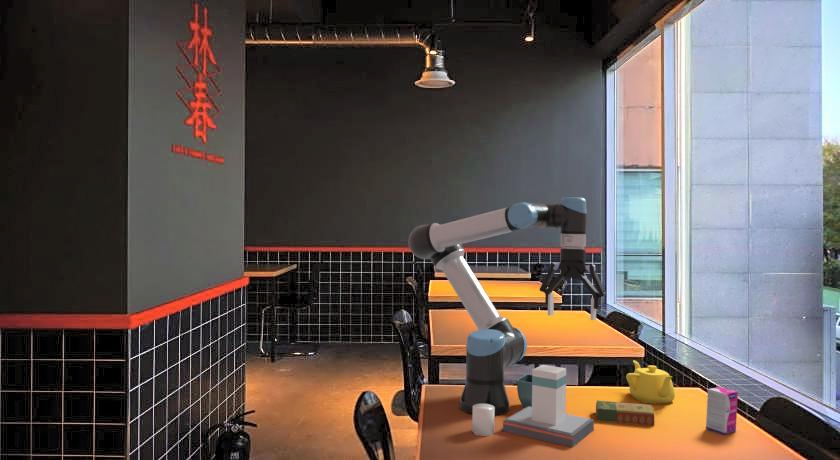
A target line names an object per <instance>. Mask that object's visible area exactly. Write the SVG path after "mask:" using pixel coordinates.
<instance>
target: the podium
mask: <svg viewBox="0 0 840 460" xmlns="http://www.w3.org/2000/svg"><path fill="white" fill-rule="evenodd" d="M594 423H595V420H594V419H593V418H589V417H584V416H579V415H574V414H569V413H565V419H564V420H562V421H561V422H560V423H558V424H557V425H552V424H548V423H543V422H538V421H534V420H532V407H530V406H527V407H526V408H524V407H523V408H522V409H520V410H519V411H517V412H515V413H513V414H512V415H510V416H508V417H507V418H504V419H503V420H502V432H506V433H510V434H513V435H518V436H522V437H527V438H531V439H536V440H540V441H544V442H548V443H553V444H556V445H562V446H565V447H569V448H574V447H575V446H576V445H577V444H579V443H580V442H581V441H582V440H584V439H585V438H586V437H588V435H590V434H592V433H593V431H594V429H595V424H594Z"/></svg>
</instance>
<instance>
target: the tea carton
mask: <svg viewBox="0 0 840 460" xmlns="http://www.w3.org/2000/svg"><path fill="white" fill-rule="evenodd" d="M531 375H532V420H534V421H538V422H543V423H548V424H552V425H557V424H558V423H560V422H561V421H562V420H564V419H565V414H566V410H567V409H566V404H567V403H566V401H567V399H566V398H567V368H566V367H559V366H554V365H547V364H541V365H540V366H538V367H535V368H533V369H532V374H531Z"/></svg>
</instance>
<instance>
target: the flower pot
mask: <svg viewBox="0 0 840 460" xmlns="http://www.w3.org/2000/svg"><path fill="white" fill-rule="evenodd" d="M515 381H516V389H517V390H516V391H517V396H518V400H519V401H520V404H521V405H522V407H523V409H524V408H526V407H527V406H530V407H532V374H530V373H529V374H528V373H526V374H524V375H523V376H521V377H520V378H518V379H516V380H515Z"/></svg>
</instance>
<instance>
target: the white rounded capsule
mask: <svg viewBox="0 0 840 460" xmlns="http://www.w3.org/2000/svg"><path fill="white" fill-rule="evenodd" d="M495 416H496V415H495V407H494V406H493V405H490V404H475V405H473V414H472V416H471V417H472V418H471V419H472V420H471V421H472V422H471V424H472V426H471V428H472V430H471V431H472V432H473V433H474V434H473V433H472V434H473V435H475V434H476V436H479V435H480V436H479V437H490V436H493V435H494V434H495Z"/></svg>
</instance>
